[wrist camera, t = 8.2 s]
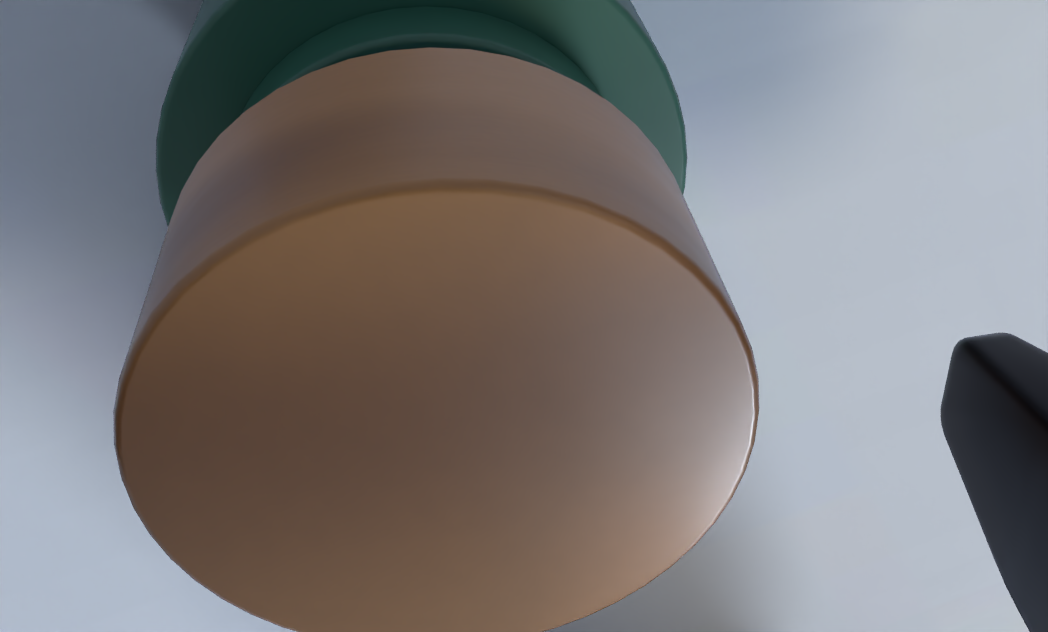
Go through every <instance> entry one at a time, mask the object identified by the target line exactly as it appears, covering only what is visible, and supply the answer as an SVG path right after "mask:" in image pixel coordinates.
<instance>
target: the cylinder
mask: <svg viewBox="0 0 1048 632" xmlns="http://www.w3.org/2000/svg"><path fill="white" fill-rule="evenodd" d="M758 414H759V384H758V374H757V370H756V365H755V360H754V356H753V351H752V347H751V345H750V342H749V340H748V338H747V335H746V333H745V330H744V328H743V325H742V323H741V321H740V318H739V316H738V314H737V312H736V310H735V307H734V305H733V303H732V301H731V299H730V297H729V294H728V292H727V290H726V288H725V286H724V284H723V281H722V279H721V277H720V275H719V273H718V271H717V268H716V266H715V264H714V262H713V260H712V258H711V255H710V253H709V251H708V249H707V247H706V245H705V242H704V240H703V238H702V236H701V234H700V232H699V229H698V227H697V225H696V223H695V221H694V219H693V216H692V214H691V212H690V210H689V208H688V206H687V203H686V201H685V199H684V197H683V195H682V193H681V190H680V188H679V186H678V184H677V182H676V180H675V177H674V175H673V174H672V172H671V171H670V169H669V167H668V166H667V164H666V163H665V161H664V159H663V158H662V156H661V154H660V153H659V151H658V150H657V148H656V147H655V146H654V145H653V144H652V143H651V142H650V140H649V139H648V138H647V137H646V136H645V135H644V133H643V132H642V131H641V130H640V129H639V128H638V126H637V125H636V124H635V123H633V122H632V121H631V120H630V119H629V118H628V117H626V116H625V115H624V114H623V113H622V112H621V111H620V110H618V109H617V108H616V107H615V106H614V105H613V104H611V103H610V102H609V101H607V100H606V99H604V98H602V97H601V96H599V95H598V94H596V93H595V92H593V91H591V90H590V89H588V88H587V87H585V86H584V85H582V84H581V83H579V82H576V81H574V80H572V79H570V78H568V77H566V76H563V75H561V74H559V73H557V72H555V71H553V70H550V69H548V68H546V67H543V66H539V65H536V64H533V63H530V62H527V61H523V60H520V59H517V58H514V57H510V56H506V55H500V54H494V53H488V52H483V51H477V50H471V49H452V48H430V47H429V48H417V49H404V50H391V51H385V52H380V53H375V54H371V55H366V56H361V57H356V58H351V59H348V60H345V61H342V62H339V63H336V64H333V65H330V66H327V67H325V68H322V69H319V70H316V71H313V72H311V73H309V74H307V75H305V76H303V77H301V78H299V79H297V80H295V81H293V82H291V83H289V84H287V85H285V86H283V87H281V88H279V89H277V90H275V91H274V92H272V93H271V94H269V95H268V96H266V97H265V98H264V99H262V100H261V101H259V102H258V103H256V104H255V105H253V106H252V107H250V108H249V109H248V110H246V111H245V112H244V113H243V114H242V115H241V116H240V117H238V118H237V119H236V120H235V121H234V122H233V123H232V124H231V125H230V126H229V127H228V128H227V129H225V130H224V131H223V132H222V133H221V134H220V135H219V136H218V137H217V139H216V140H215V141H214V142H213V144H212V145H211V146H210V147H209V149H208V150H207V151H206V152H205V154H204V155H203V156H202V157H201V159H200V160H199V161H198V162H197V164H196V166H195V168H194V170H193V171H192V173H191V175H190V177H189V178H188V180H187V182H186V184H185V185H184V187H183V189H182V191H181V193H180V196H179V199H178V201H177V204H176V207H175V209H174V212H173V215H172V217H171V220H170V223H169V226H168V229H167V233H166V236H165V239H164V242H163V245H162V248H161V251H160V254H159V257H158V260H157V263H156V267H155V270H154V273H153V276H152V279H151V282H150V285H149V288H148V291H147V294H146V297H145V301H144V304H143V307H142V310H141V313H140V316H139V319H138V322H137V325H136V328H135V332H134V335H133V338H132V341H131V344H130V347H129V350H128V353H127V356H126V359H125V362H124V366H123V369H122V372H121V375H120V378H119V383H118V389H117V395H116V400H115V406H114V446H115V450H116V455H117V460H118V465H119V469H120V474H121V477H122V480H123V483H124V485H125V488H126V490H127V493H128V495H129V498H130V500H131V502H132V505H133V507H134V509H135V511H136V513H137V514H138V516H139V517H140V519H141V521H142V522H143V524H144V525H145V527H146V529H147V530H148V532H149V534H150V535H151V536H152V537H153V539H154V540H155V541H156V542H157V543H158V544H159V546H160V547H161V548H162V549H163V550H164V551H165V553H166V554H167V555H168V556H169V557H170V558H171V560H173V561H174V562H175V563H176V564H177V565H178V566H179V567H181V568H182V569H183V570H184V571H185V572H186V573H187V574H188V575H190V576H191V577H192V578H193V579H194V580H195V581H197V582H198V583H200V584H201V585H203V586H204V587H205V588H207V589H208V590H210V591H211V592H213V593H214V594H216V595H217V596H219V597H220V598H221V599H223V600H225V601H227V602H229V603H231V604H233V605H234V606H236V607H238V608H240V609H242V610H244V611H246V612H248V613H250V614H251V615H254V616H256V617H259V618H261V619H264V620H266V621H269V622H271V623H273V624H276V625H278V626H281V627H284V628H287V629H290V630H294V631H297V632H543V631H547V630H550V629H554V628H557V627H559V626H562V625H565V624H567V623H570V622H573V621H576V620H578V619H581V618H584V617H586V616H588V615H591V614H593V613H595V612H597V611H599V610H601V609H603V608H605V607H608V606H610V605H612V604H614V603H616V602H618V601H620V600H621V599H623V598H625V597H626V596H628V595H630V594H631V593H633V592H635V591H637V590H638V589H640V588H642V587H643V586H645V585H646V584H648V583H649V582H651V581H652V580H653V579H655V578H656V577H657V576H659V575H660V574H662V573H663V572H664V571H666V570H667V569H669V568H670V567H671V566H672V565H673V564H675V563H676V562H677V561H678V560H679V559H680V558H681V557H682V556H683V555H685V554H686V553H687V552H688V551H689V550H690V549H691V548H692V547H693V546H695V544H696V543H697V542H698V541H699V540H700V539H701V538H702V537H703V535H704V534H705V533H706V532H707V531H708V530H709V529H710V528H711V526H712V525H713V524H714V523H715V522H716V520H717V519H718V517H719V516H720V514H721V513H722V511H723V510H724V508H725V507H726V506H727V504H728V503H729V501H730V500H731V498H732V497H733V495H734V492H735V490H736V488H737V486H738V484H739V482H740V480H741V478H742V476H743V474H744V472H745V470H746V467H747V464H748V461H749V458H750V454H751V451H752V448H753V445H754V441H755V434H756V427H757V421H758Z"/></svg>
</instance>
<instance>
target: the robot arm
mask: <svg viewBox="0 0 1048 632" xmlns="http://www.w3.org/2000/svg"><path fill="white" fill-rule="evenodd" d="M941 423H942V428H943V432H944V435H945V438H946V440H947V443H948V445H949V448H950V450H951V453H952V455H953V458H954V460H955V463H956V465H957V468H958V470H959V473H960V475H961V477H962V480H963V482H964V485H965V487H966V490H967V492H968V495H969V497H970V500H971V502H972V505H973V507H974V510H975V512H976V515H977V517H978V520H979V522H980V525H981V527H982V530H983V532H984V535H985V537H986V540H987V542H988V545H989V547H990V550H991V552H992V555H993V557H994V560H995V562H996V564H997V567H998V569H999V571H1000V573H1001V576H1002V578H1003V580H1004V583H1005V585H1006V587H1007V589H1008V591H1009V593H1010V595H1011V597H1012V599H1013V601H1014V603H1015V605H1016V607H1017V609H1018V611H1019V613H1020V614H1021V616H1022V618H1023V620H1024V622H1025V624H1026V626H1027V627H1028V629H1029V631H1030V632H1048V353H1047V352H1045V351H1043V350H1041V349H1039V348H1037V347H1035V346H1033V345H1032V344H1030V343H1028V342H1026V341H1024V340H1022V339H1020V338H1018V337H1016V336H1014V335H1011V334H1008V333H994V334H988V335H981V336H974V337H968V338H964V339H962V340H960V341H959V342H958V343H957V344H956V346H955V347H954V350H953V353H952V357H951V361H950V366H949V371H948V376H947V380H946V385H945V390H944V394H943V399H942V404H941Z"/></svg>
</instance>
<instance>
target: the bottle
mask: <svg viewBox="0 0 1048 632" xmlns="http://www.w3.org/2000/svg"><path fill="white" fill-rule="evenodd" d="M429 47H430V48H452V49H471V50H477V51H483V52H488V53H494V54H500V55H506V56H510V57H514V58H517V59H520V60H523V61H527V62H530V63H533V64H536V65H539V66H543V67H546V68H548V69H550V70H553V71H555V72H557V73H559V74H561V75H563V76H566V77H568V78H570V79H572V80H574V81H576V82H579V83H581V84H582V85H584V86H585V87H587V88H588V89H590V90H591V91H593V92H595V93H596V94H598V95H599V96H601V97H602V98H604V99H606V100H607V101H609V102H610V103H611V104H613V105H614V106H615V107H616V108H617V109H618V110H620V111H621V112H622V113H623V114H624V115H625V116H626V117H628V118H629V119H630V120H631V121H632V122H633V123H635V124H636V125H637V126H638V128H639V129H640V130H641V131H642V132H643V133H644V135H645V136H646V137H647V138H648V139H649V140H650V142H651V143H652V144H653V145H654V146H655V147H656V148H657V150H658V151H659V153H660V154H661V156H662V158H663V159H664V161H665V163H666V164H667V166H668V167H669V169H670V171H671V172H672V174H673V175H674V177H675V180H676V182H677V184H678V186H679V188H680V190H681V193H682V195H683V193H684V188H685V178H686V164H687V150H686V136H685V125H684V121H683V117H682V112H681V108H680V103H679V99H678V95H677V93H676V90H675V88H674V85H673V82H672V80H671V77H670V75H669V72H668V70H667V67H666V65H665V63H664V61H663V60H662V58H661V56H660V54H659V52H658V50H657V49H656V47H655V45H654V43H653V41H652V39H651V38H650V36H649V34H648V32H647V30H646V28H645V27H644V25H643V23H642V21H641V19H640V17H639V16H638V14H637V12H636V10H635V8H634V6H633V5H632V3H631V1H630V0H203V3H202V5H201V7H200V10H199V12H198V15H197V17H196V20H195V22H194V25H193V27H192V29H191V32H190V34H189V37H188V39H187V42H186V44H185V47H184V49H183V52H182V54H181V56H180V59H179V61H178V64H177V66H176V69H175V71H174V74H173V76H172V79H171V82H170V85H169V88H168V91H167V94H166V97H165V100H164V103H163V105H162V110H161V116H160V122H159V127H158V133H157V139H156V174H157V181H158V188H159V195H160V202H161V205H162V209H163V212H164V215H165V219H166V222H167V225H168V226H169V223H170V220H171V217H172V215H173V212H174V209H175V207H176V204H177V201H178V199H179V196H180V193H181V191H182V189H183V187H184V185H185V184H186V182H187V180H188V178H189V177H190V175H191V173H192V171H193V170H194V168H195V166H196V164H197V162H198V161H199V160H200V159H201V157H202V156H203V155H204V154H205V152H206V151H207V150H208V149H209V147H210V146H211V145H212V144H213V142H214V141H215V140H216V139H217V137H218V136H219V135H220V134H221V133H222V132H223V131H224V130H225V129H227V128H228V127H229V126H230V125H231V124H232V123H233V122H234V121H235V120H236V119H237V118H238V117H240V116H241V115H242V114H243V113H244V112H245V111H246V110H248V109H249V108H250V107H252V106H253V105H255V104H256V103H258V102H259V101H261V100H262V99H264V98H265V97H266V96H268V95H269V94H271V93H272V92H274V91H275V90H277V89H279V88H281V87H283V86H285V85H287V84H289V83H291V82H293V81H295V80H297V79H299V78H301V77H303V76H305V75H307V74H309V73H311V72H313V71H316V70H319V69H322V68H325V67H327V66H330V65H333V64H336V63H339V62H342V61H345V60H348V59H351V58H356V57H361V56H366V55H371V54H375V53H380V52H385V51H391V50H404V49H417V48H429Z"/></svg>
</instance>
